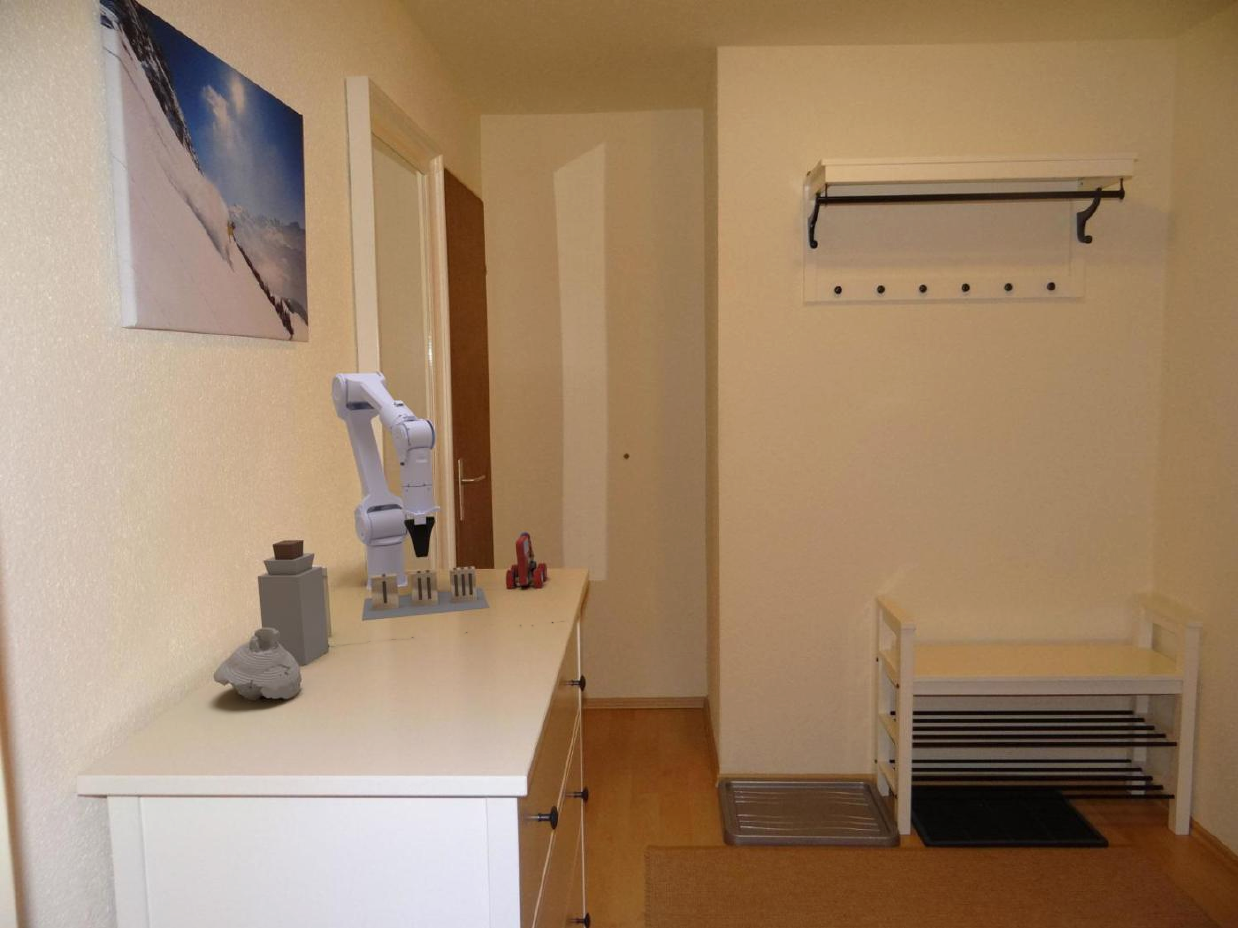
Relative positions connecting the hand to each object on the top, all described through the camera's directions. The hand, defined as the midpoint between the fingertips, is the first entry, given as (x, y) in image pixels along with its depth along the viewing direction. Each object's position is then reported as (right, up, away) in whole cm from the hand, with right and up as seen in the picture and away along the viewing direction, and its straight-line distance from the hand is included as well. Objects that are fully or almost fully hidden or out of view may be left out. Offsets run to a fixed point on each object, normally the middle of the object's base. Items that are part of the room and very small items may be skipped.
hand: (422, 556), depth 173 cm
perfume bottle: (-12, -13, -32) cm, 36 cm away
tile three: (+9, -8, -3) cm, 12 cm away
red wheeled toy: (+19, -7, +8) cm, 22 cm away
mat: (+2, -9, -4) cm, 10 cm away
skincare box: (-13, -12, -24) cm, 30 cm away
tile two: (+2, -8, -5) cm, 10 cm away
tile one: (-5, -9, -7) cm, 12 cm away
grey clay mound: (-12, -14, -47) cm, 51 cm away
